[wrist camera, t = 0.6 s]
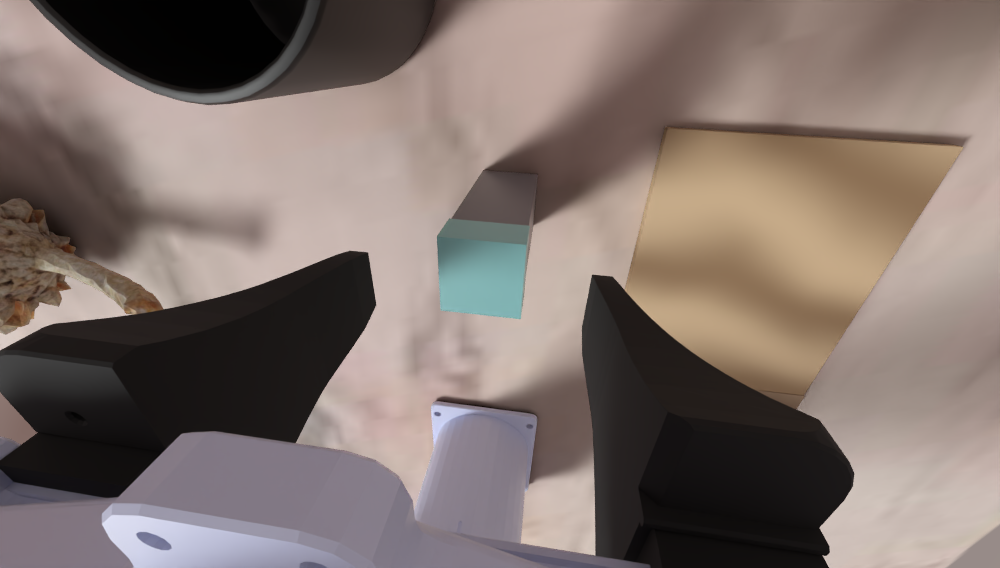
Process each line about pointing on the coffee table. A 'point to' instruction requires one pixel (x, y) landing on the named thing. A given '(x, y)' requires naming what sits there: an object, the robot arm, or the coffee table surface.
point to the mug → (243, 43)
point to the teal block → (488, 246)
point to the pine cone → (50, 269)
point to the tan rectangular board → (773, 243)
